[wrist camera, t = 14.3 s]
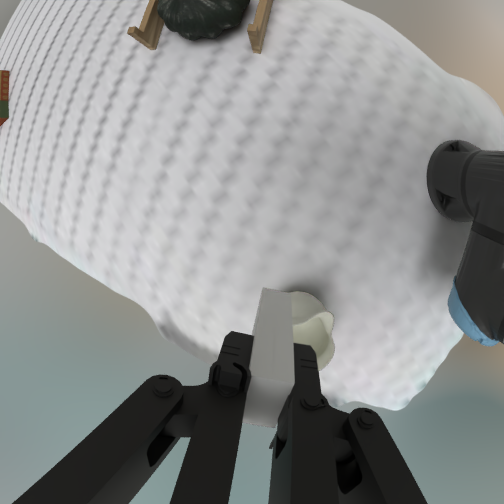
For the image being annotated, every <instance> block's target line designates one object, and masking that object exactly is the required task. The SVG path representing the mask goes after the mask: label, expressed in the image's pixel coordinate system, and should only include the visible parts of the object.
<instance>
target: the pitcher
mask: <svg viewBox="0 0 504 504" xmlns="http://www.w3.org/2000/svg"><path fill="white" fill-rule="evenodd" d="M290 293H291V304H292V323H293V343H299V344H305V345H311V347H312V348H313V350H314V351H315V352H316V356H317V364H318V371H320V370H322V369H323V368H324V367H326V366H327V365H328V364H329V362H330V361H331V359H332V358H333V355H334V352H335V345H334V342H333V339H332V330H333V326H334V316H333V314H332V313H330V312H328V311H327V310H326V309H325V307H324V306H323V304H322V303H321V302H320V301H319V300H318V299H317V298H315V297H314V296H312V295H311V294H309V293H306V292H300V291H295V292H290Z"/></svg>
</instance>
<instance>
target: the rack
mask: <svg viewBox="0 0 504 504" xmlns="http://www.w3.org/2000/svg"><path fill="white" fill-rule="evenodd" d="M158 3H159V1H158V0H149V3H148V5H147V8H146V11H145V13H144V16H143V19H142V21H141V24H140V27H139V29H138V28H137V27H129V29H128V32H127V34H129V35H130V36H132V37H133V38H135V39H136V40H137V41H139V42H140V43H142V44H143V45H144V46H146V47H147V48H149V49H150V50H154V49H156V47H157V44H158V41H159V37H160V34H161V31H162V28H163V25H164V20H163V19H161V18H160V16H159V15H158V11H157V5H158ZM272 3H273V0H259V4H258V7H257V11H256V15H255V19H254V23H253V24H249V25H248V29H247V32H248V35H249V39H250V42H251V46H252V49H253V53H260V54H261V50H262V45H263V41H264V36H265V32H266V28H267V24H268V19H269V15H270V11H271V7H272Z"/></svg>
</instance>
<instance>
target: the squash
mask: <svg viewBox="0 0 504 504" xmlns="http://www.w3.org/2000/svg"><path fill="white" fill-rule="evenodd" d="M158 1H159V3H158V5H157V11H158V15H159V16H160V18H161V19H163V20H164V22H165V25H166V26H167V28H168V29H169V30H171V31H173V32H178V33H179V34H180V35H181V36H182V37H184V38H186V39H188V40H196V39H199V38H200V37H206V38H211V39H213V38H216V37H218V36H219V35H220V34H221V33H222V31H223V29H225V28H231V27H234V26H236V25H237V24H239V23H240V22H241V19H242V11H243V10H244V9H245V8H246V7H247V6H248V4H249V2H250V0H158Z"/></svg>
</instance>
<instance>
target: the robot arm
mask: <svg viewBox="0 0 504 504" xmlns="http://www.w3.org/2000/svg"><path fill="white" fill-rule="evenodd" d="M427 185H428V191H429V194H430V197H431V200H432V202H433V204H434V206H435V207H436V209H437V210H438V211H439V212H440V213H441V214H442V215H443V216H445V217H447V218H449V219H451V220H453V221H457V222H469V221H473V225H472V228H471V231H470V235H469V238H468V242H467V245H466V248H465V251H464V254H463V257H462V260H461V263H460V266H459V269H458V272H457V274H456V276H455V277H454V280H453V287H452V289H451V292H450V295H449V298H448V307H449V312H450V315H451V317H452V319H453V320H454V322H455V323H456V324H457V326H458V327H459V328H460V329H461V330H462V331H463V332H464V333H465V334H466V335H467V336H469V337H470V338H471V339H473V340H474V341H477V340H478V341H479V342H480V344H482V345H485V346H494V345H496V344H497V343H498V342H501V343H503V344H504V151H485V150H481V149H480V148H478V147H476V146H474V145H472V144H471V143H469V142H466V141H462V140H451V141H447V142H445V143H443V144H441V145H440V146H439V147H438V148H437V149H436V150H435V151H434V153H433V155H432V157H431V159H430V162H429V165H428V171H427ZM277 422H278V426H277V432H276V434H275V436H274V438H273V440H272V442H271V444H270V447H269V449H272V447H273V455H272V469H271V480H270V492H269V503H268V504H427V502H426V500H425V498H424V496H423V494H422V492H421V490H420V488H419V487H418V485H417V483H416V481H415V479H414V477H413V475H412V473H411V471H410V470H409V468H408V466H407V464H406V462H405V460H404V459H403V457H402V455H401V453H400V451H399V449H398V448H397V446H396V444H395V442H394V441H393V439H392V437H391V435H390V433H389V432H388V430H387V428H386V426H385V425H384V423H383V421H382V419H381V418H380V416H379V415H378V414H377V413H376V412H374V411H373V410H371V409H368V408H357V409H354V410H353V411H352V412H351V413H350V414H349V413H346V412H343V411H340V410H337V409H335V408H333V407H331V406H330V405H329V403H328V401H327V399H326V398H325V397H324V396H323V395H322V394H321V386H320V379H319V371H318V364H317V356H316V352H315V351H314V350H313V348H312V347H311V345H305V344H299V343H293V323H292V304H291V293H287V292H282V291H277V290H272V289H267V288H263V289H262V293H261V298H260V302H259V306H258V311H257V315H256V319H255V323H254V328H253V333H252V335H248V334H243V333H238V332H234V331H231V332H230V333H229V334H228V335H226V336H225V338H224V341H223V345H222V348H221V351H220V354H219V357H218V360H217V361H216V362H215V363H213V364H212V366H211V367H210V373H209V380H208V382H206V383H204V384H202V385H198V386H182V384H181V383H180V382H179V381H178V380H177V379H175V378H174V377H171V376H168V375H156V376H152V377H151V378H149V379H147V380H146V381H145V382H144V383H143V384H142V385H141V386H140V387H139V388H138V389H137V390H136V391H135V392H134V393H132V394H131V395H130V396H129V397H128V398H127V399H126V400H125V401H124V402H123V403H122V404H121V405H120V406H119V407H118V408H117V409H116V410H115V411H113V412H112V413H111V414H110V415H109V416H108V417H107V418H106V419H105V420H104V421H103V422H102V423H101V424H100V425H99V426H98V427H96V428H95V429H94V430H93V431H92V432H91V433H90V434H89V435H88V436H87V437H86V438H85V439H84V440H82V441H81V442H80V443H79V444H78V445H77V446H76V447H75V448H74V449H73V450H72V451H71V452H70V453H68V454H67V455H66V456H65V457H64V458H63V459H62V460H61V461H60V462H58V463H57V464H56V465H55V466H54V467H53V468H52V469H51V470H50V471H48V472H47V473H46V474H45V475H44V476H43V477H42V478H41V479H40V480H38V481H37V482H36V483H35V484H34V485H33V486H32V487H30V488H29V489H28V490H27V491H26V492H25V493H24V494H23V495H21V496H20V497H19V498H18V499H17V500H16V501H14V502H13V503H12V504H129V502H130V501H131V500H132V499H133V498H134V496H135V495H136V494H137V493H138V492H139V490H140V489H141V488H142V487H143V485H144V484H145V483H146V482H147V480H148V479H149V478H150V477H151V475H152V474H153V473H154V472H155V470H156V469H157V468H158V467H159V465H160V464H161V462H162V461H163V460H164V459H165V458H166V456H167V455H168V454H169V452H170V451H171V450H172V448H173V447H174V446H175V444H176V443H177V442H178V440H179V439H180V437H191V439H190V442H189V445H188V448H187V451H186V454H185V457H184V460H183V463H182V467H181V470H180V473H179V476H178V479H177V482H176V485H175V488H174V492H173V495H172V498H171V501H170V504H228V501H229V496H230V490H231V485H232V479H233V474H234V468H235V462H236V457H237V451H238V445H239V439H240V433H241V427H242V423H247V424H252V425H259V426H265V427H272V428H275V426H276V424H277Z"/></svg>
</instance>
